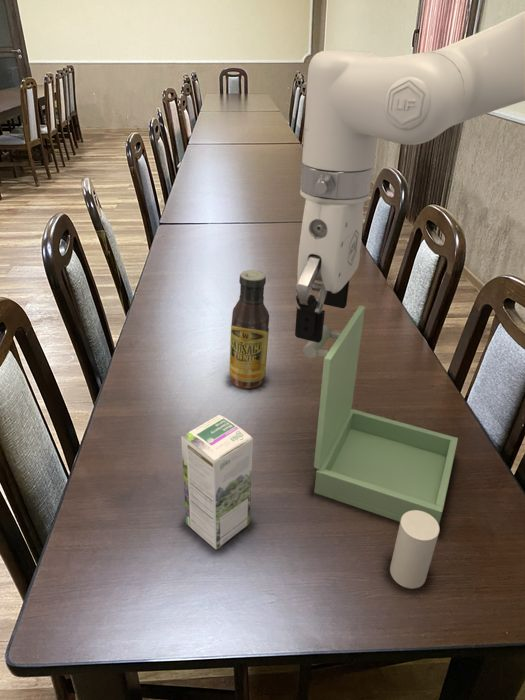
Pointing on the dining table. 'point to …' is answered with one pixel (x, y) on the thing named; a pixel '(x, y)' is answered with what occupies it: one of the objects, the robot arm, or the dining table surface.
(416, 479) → the green open lid box
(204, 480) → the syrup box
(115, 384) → the dining table surface
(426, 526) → the cylinder
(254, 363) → the sauce bottle
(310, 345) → the green box lid
